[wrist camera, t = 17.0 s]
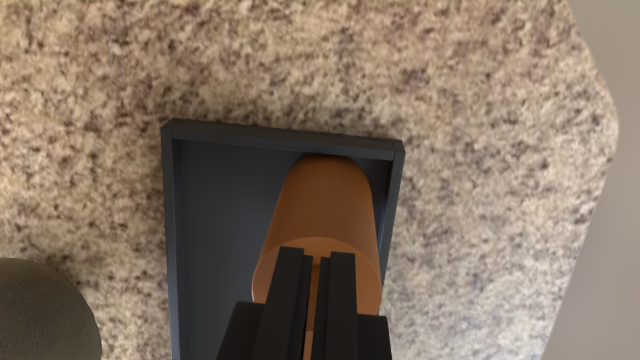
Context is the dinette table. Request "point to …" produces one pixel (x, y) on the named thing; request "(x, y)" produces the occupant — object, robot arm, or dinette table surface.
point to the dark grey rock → (44, 315)
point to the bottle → (324, 228)
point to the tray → (243, 213)
